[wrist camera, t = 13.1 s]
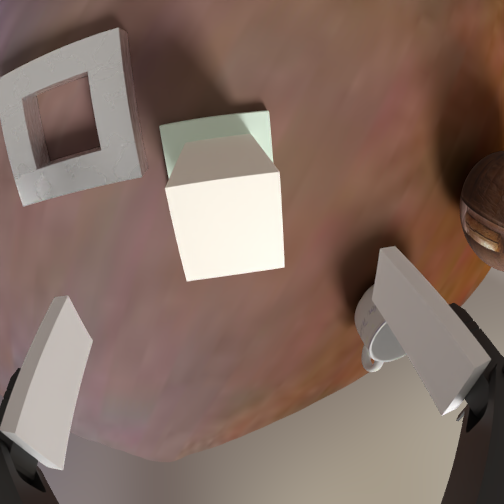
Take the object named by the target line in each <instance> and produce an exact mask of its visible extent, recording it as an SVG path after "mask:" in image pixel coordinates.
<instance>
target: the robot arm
mask: <svg viewBox="0 0 504 504" xmlns="http://www.w3.org/2000/svg"><path fill="white" fill-rule="evenodd" d="M372 301H373V302H374V304H375V305H376V307H377V308H378V310H379V312H380V313H381V315H382V316H383V318H384V319H385V321H386V322H387V324H388V326H389V327H390V329H391V330H392V332H393V333H394V335H395V337H396V338H397V340H398V342H399V343H400V345H401V346H402V348H403V350H404V351H405V353H406V355H407V356H408V358H409V360H410V361H411V363H412V365H413V366H414V368H415V370H416V371H417V373H418V375H419V376H420V378H421V380H422V382H423V383H424V385H425V387H426V389H427V390H428V392H429V394H430V396H431V397H432V399H433V401H434V403H435V405H436V407H437V408H438V410H439V412H440V414H441V415H444V414H446V413H448V412H450V411H452V410H454V409H456V408H458V406H459V405H460V404H461V402H462V401H463V400H464V399H465V400H466V402H467V403H468V404H467V406H466V407H465V408H464V409H463V411H462V412H461V413H460V414H459V415H458V418H457V420H456V421H459V420H460V419H461V418H462V417H463V416H464V418H463V421H462V422H463V423H462V429H461V434H460V438H459V443H458V447H457V451H456V455H455V459H454V463H453V467H452V470H451V474H450V478H449V481H448V484H447V487H446V490H445V493H444V496H443V499H442V502H441V504H504V357H503V356H502V355H501V354H500V353H499V351H498V350H497V349H496V348H495V346H494V345H493V344H492V342H491V341H490V340H489V339H488V337H487V336H486V335H485V334H484V332H483V331H482V330H481V329H479V326H478V325H477V324H476V322H475V321H473V319H472V318H471V317H470V315H469V314H468V313H467V312H466V311H465V310H464V309H463V308H461V307H460V306H458V305H457V304H455V303H452V304H449V305H448V304H447V302H446V301H445V300H444V299H443V298H442V297H441V295H440V294H439V293H438V292H437V291H436V290H435V289H434V287H433V286H432V285H431V284H430V283H429V282H428V281H427V280H426V279H425V277H424V276H423V275H422V274H421V273H420V272H419V271H418V270H417V269H416V268H415V266H414V265H413V264H412V263H411V262H410V261H409V260H408V259H407V258H406V257H405V256H404V255H403V254H402V253H401V252H400V251H399V250H398V249H397V248H396V246H392V247H386V248H381V249H380V252H379V259H378V265H377V272H376V278H375V284H374V289H373V295H372ZM92 342H93V341H92V339H91V337H90V335H89V334H88V332H87V330H86V328H85V327H84V325H83V323H82V321H81V319H80V317H79V316H78V314H77V312H76V310H75V308H74V306H73V304H72V302H71V300H70V298H69V296H60V297H54V299H53V301H52V303H51V305H50V307H49V309H48V311H47V313H46V315H45V317H44V319H43V321H42V323H41V325H40V327H39V329H38V331H37V333H36V335H35V337H34V340H33V342H32V344H31V346H30V348H29V351H28V353H27V355H26V358H25V360H24V362H23V365H22V367H21V368H18V369H17V370H16V372H15V373H14V374H13V376H12V377H11V379H10V381H9V384H8V387H7V391H6V392H5V394H4V400H2V403H1V406H0V504H59V503H58V501H57V499H56V497H55V496H54V494H53V492H52V490H51V488H50V486H49V485H48V483H47V481H46V479H45V477H44V475H43V473H42V471H41V470H40V469H39V467H38V466H37V463H38V461H39V462H41V463H42V464H44V465H45V466H47V467H49V468H55V469H60V470H63V467H64V461H65V455H66V449H67V443H68V438H69V433H70V428H71V423H72V419H73V414H74V410H75V405H76V401H77V397H78V393H79V389H80V385H81V381H82V377H83V373H84V370H85V366H86V363H87V359H88V356H89V352H90V349H91V345H92Z"/></svg>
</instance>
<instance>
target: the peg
mask: <svg viewBox="0 0 504 504" xmlns="http://www.w3.org/2000/svg"><path fill="white" fill-rule="evenodd" d="M165 190H166V195H167V200H168V204H169V209H170V213H171V218H172V222H173V227H174V231H175V235H176V240H177V244H178V248H179V252H180V256H181V260H182V264H183V268H184V272H185V276H186V280H187V281H192V280H199V279H207V278H214V277H221V276H228V275H235V274H242V273H249V272H256V271H263V270H270V269H277V268H283V267H284V244H283V224H282V205H281V188H280V172H279V171H278V169H277V168H276V166H275V165H274V164H273V162H272V161H271V160H270V158H269V157H268V156H267V154H266V153H265V152H264V150H263V149H262V148H261V146H260V145H259V144H258V142H257V141H256V140H255V138H254V137H253V136H252V135H251V134H242V135H234V136H226V137H218V138H211V139H204V140H198V141H192V142H186V143H185V145H184V147H183V149H182V151H181V153H180V155H179V158H178V160H177V162H176V164H175V166H174V169H173V171H172V173H171V175H170V178H169V180H168V182H167V185H166V187H165Z"/></svg>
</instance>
